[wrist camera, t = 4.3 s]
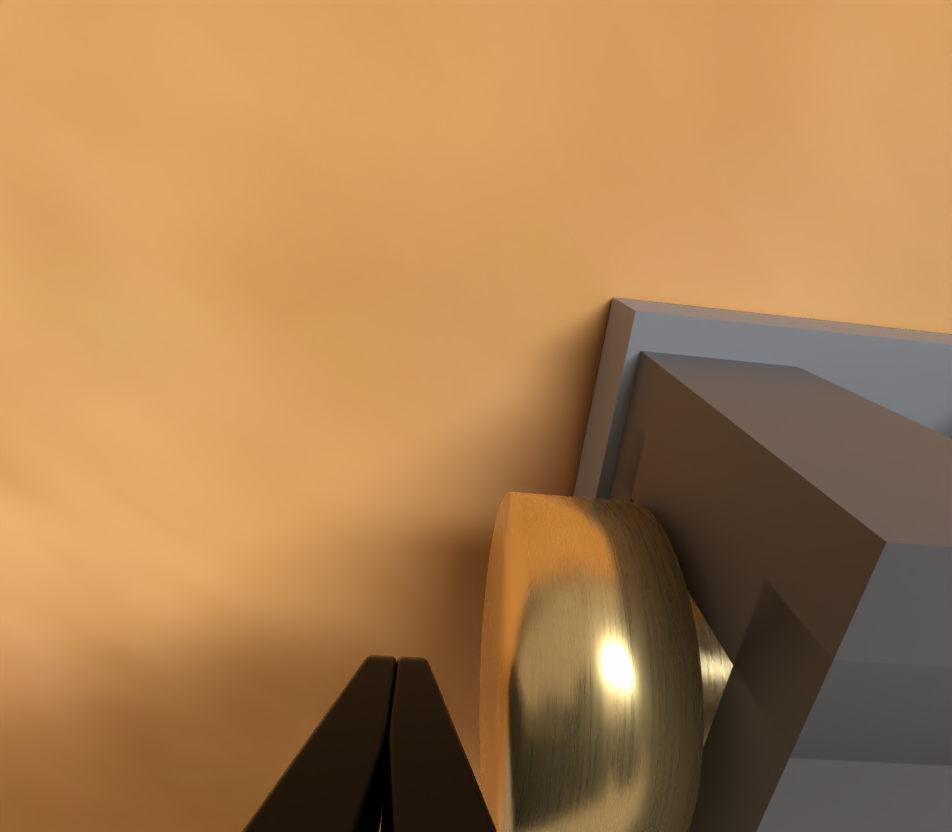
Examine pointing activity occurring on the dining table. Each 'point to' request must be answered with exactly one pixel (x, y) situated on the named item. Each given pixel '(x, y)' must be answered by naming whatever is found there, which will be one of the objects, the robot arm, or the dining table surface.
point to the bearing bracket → (798, 550)
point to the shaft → (591, 671)
